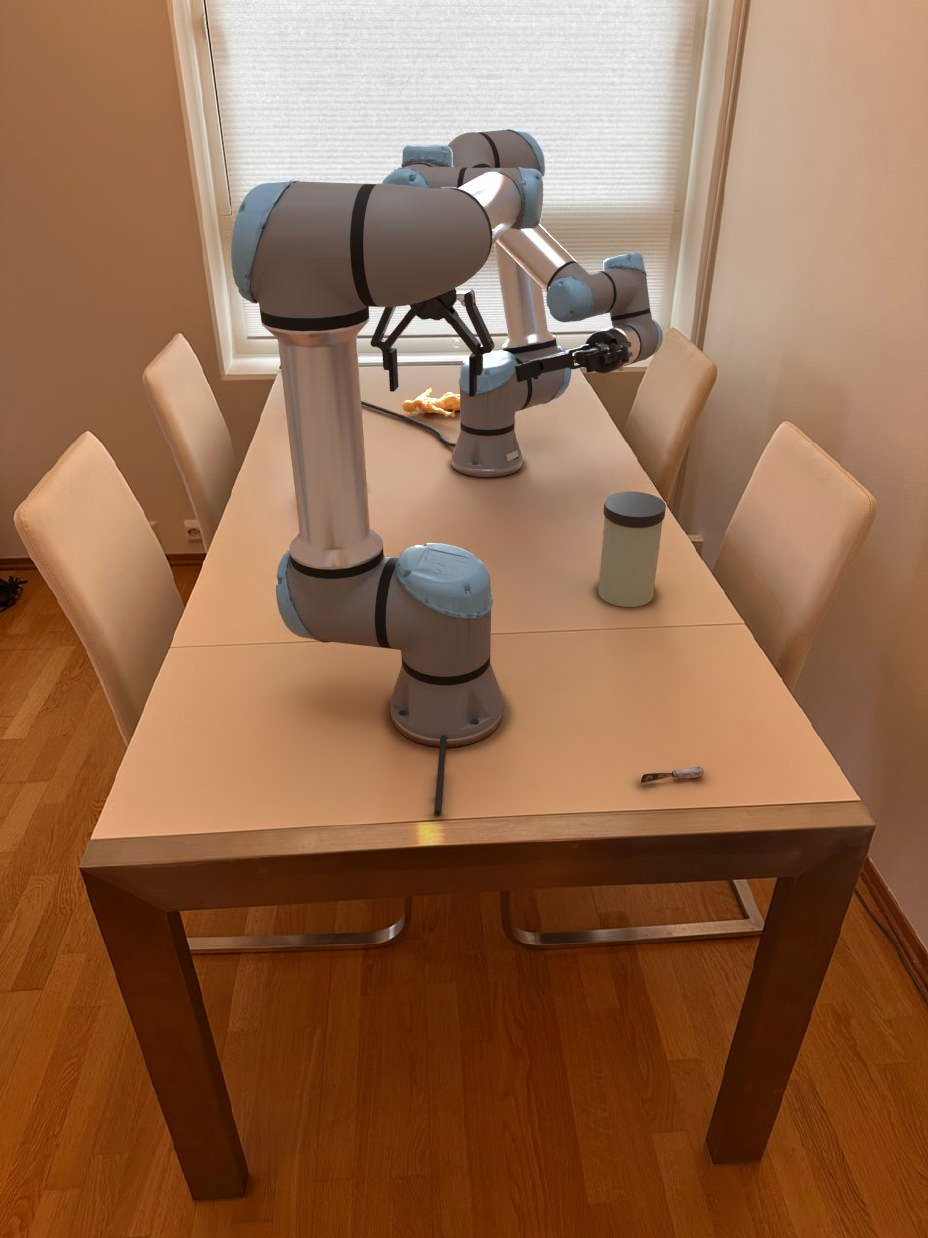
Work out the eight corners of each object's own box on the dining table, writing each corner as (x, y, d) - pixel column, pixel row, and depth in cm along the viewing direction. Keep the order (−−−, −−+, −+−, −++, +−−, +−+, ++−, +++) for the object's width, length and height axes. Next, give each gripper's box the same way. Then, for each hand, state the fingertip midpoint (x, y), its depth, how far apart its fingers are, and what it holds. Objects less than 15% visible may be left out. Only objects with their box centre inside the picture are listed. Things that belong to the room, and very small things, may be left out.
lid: (614, 529, 136) (615, 519, 135) (595, 503, 144) (596, 493, 143) (673, 524, 137) (675, 514, 136) (652, 499, 145) (653, 489, 144)
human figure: (395, 413, 223) (394, 398, 221) (438, 390, 237) (438, 375, 235) (462, 429, 215) (462, 413, 213) (502, 404, 229) (503, 388, 227)
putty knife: (703, 777, 109) (705, 767, 109) (642, 788, 108) (644, 777, 107) (700, 772, 110) (702, 762, 109) (639, 782, 109) (640, 771, 108)
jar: (607, 609, 144) (616, 521, 135) (591, 582, 151) (598, 496, 143) (661, 604, 145) (672, 516, 136) (642, 577, 152) (652, 492, 144)
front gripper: (513, 255, 139) (510, 389, 150) (360, 249, 144) (368, 380, 155) (505, 264, 133) (502, 403, 144) (345, 258, 137) (355, 393, 149)
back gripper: (677, 361, 157) (622, 383, 141) (556, 377, 172) (494, 399, 157) (672, 317, 154) (615, 334, 139) (549, 337, 170) (487, 355, 154)
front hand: (433, 391), depth 149 cm, fingers open, 13 cm apart
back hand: (551, 369), depth 148 cm, fingers open, 13 cm apart
